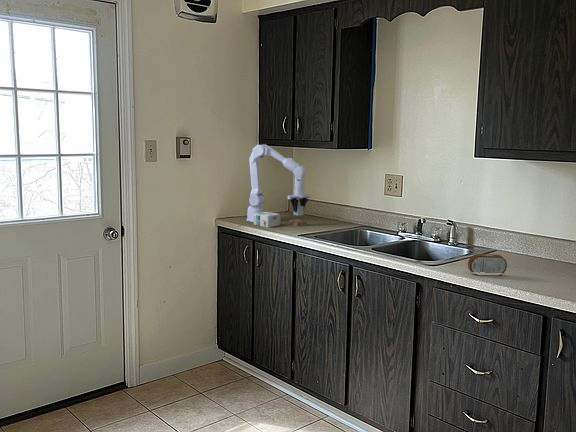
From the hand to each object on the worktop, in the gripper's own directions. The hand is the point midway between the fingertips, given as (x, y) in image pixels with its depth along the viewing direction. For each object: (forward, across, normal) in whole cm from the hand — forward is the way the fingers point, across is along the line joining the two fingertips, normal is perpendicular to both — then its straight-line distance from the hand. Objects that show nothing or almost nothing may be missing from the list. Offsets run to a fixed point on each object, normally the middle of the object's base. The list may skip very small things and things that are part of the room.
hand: (298, 211), depth 337 cm
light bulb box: (+4, -15, +1) cm, 16 cm away
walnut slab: (+8, 0, 0) cm, 8 cm away
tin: (+8, 0, -126) cm, 126 cm away
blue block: (+2, 0, 0) cm, 2 cm away
